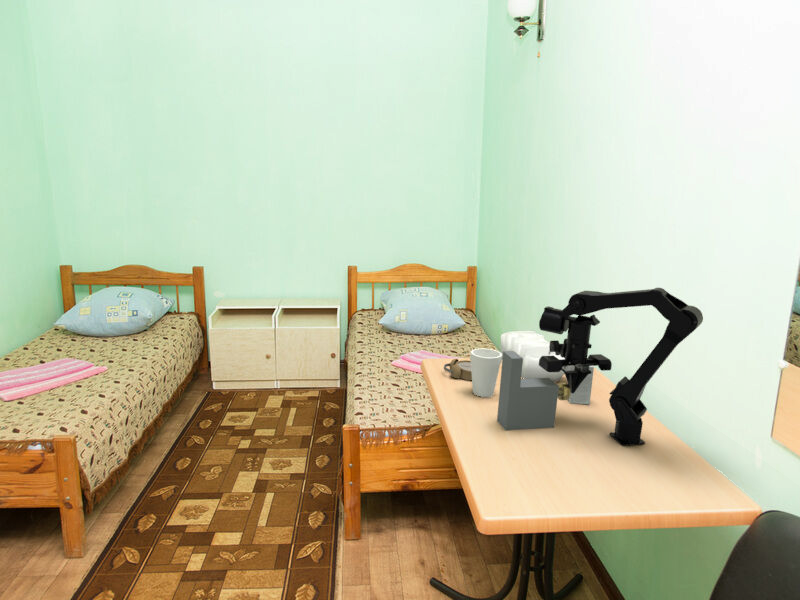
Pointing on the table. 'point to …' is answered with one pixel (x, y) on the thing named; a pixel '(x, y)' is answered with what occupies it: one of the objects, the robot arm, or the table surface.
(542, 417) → the block
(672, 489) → the table surface
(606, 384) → the table surface
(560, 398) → the shaft
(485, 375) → the foam cup
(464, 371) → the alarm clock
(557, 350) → the robot arm
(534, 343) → the wavy white extrusion
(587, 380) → the skincare box
